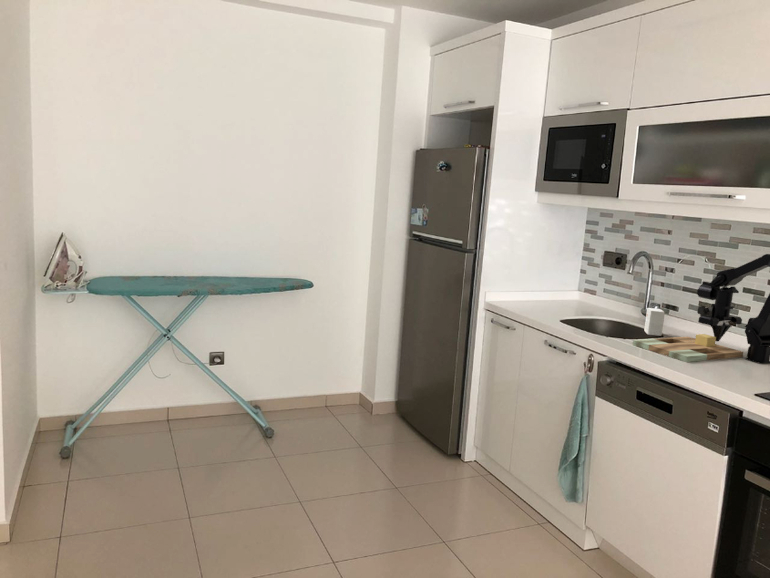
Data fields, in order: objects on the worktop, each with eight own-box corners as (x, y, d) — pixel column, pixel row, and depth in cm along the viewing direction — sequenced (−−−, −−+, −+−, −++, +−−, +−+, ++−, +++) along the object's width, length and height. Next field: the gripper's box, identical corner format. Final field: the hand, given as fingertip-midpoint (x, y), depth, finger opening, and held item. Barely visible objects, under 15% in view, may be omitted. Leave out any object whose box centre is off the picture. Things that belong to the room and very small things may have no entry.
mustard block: (714, 345, 244) (716, 337, 243) (706, 346, 242) (707, 337, 241) (703, 342, 248) (704, 334, 248) (694, 343, 246) (696, 334, 245)
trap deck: (742, 356, 238) (743, 351, 237) (686, 362, 223) (687, 356, 223) (687, 341, 259) (688, 336, 258) (632, 344, 244) (633, 339, 244)
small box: (661, 336, 265) (665, 312, 263) (647, 334, 266) (651, 310, 264) (657, 332, 272) (660, 308, 271) (643, 331, 273) (647, 307, 272)
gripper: (719, 298, 257) (713, 335, 259) (689, 299, 248) (683, 337, 251) (745, 303, 247) (739, 342, 250) (714, 304, 239) (708, 344, 241)
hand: (716, 341), depth 248 cm, fingers closed
